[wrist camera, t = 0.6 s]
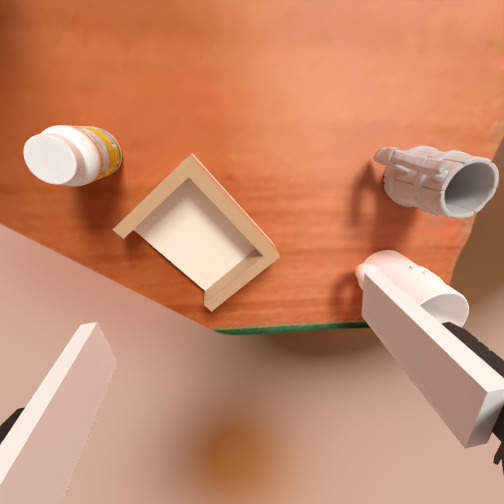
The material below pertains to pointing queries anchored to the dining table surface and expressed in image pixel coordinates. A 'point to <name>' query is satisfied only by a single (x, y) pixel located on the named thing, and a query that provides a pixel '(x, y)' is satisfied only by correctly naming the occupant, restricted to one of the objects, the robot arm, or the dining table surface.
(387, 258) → the mug
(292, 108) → the dining table surface
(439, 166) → the mug
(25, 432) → the robot arm
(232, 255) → the u rest
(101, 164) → the supplement bottle
